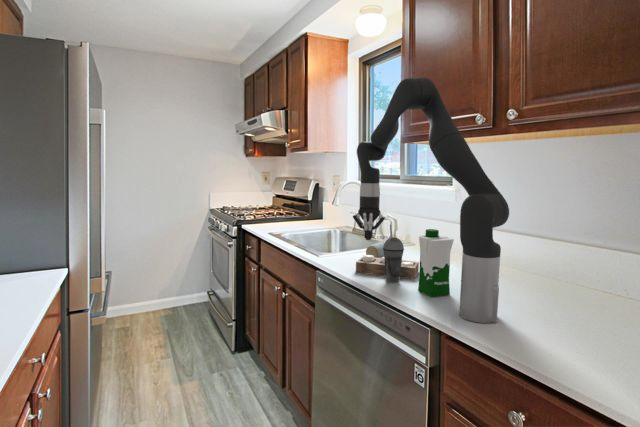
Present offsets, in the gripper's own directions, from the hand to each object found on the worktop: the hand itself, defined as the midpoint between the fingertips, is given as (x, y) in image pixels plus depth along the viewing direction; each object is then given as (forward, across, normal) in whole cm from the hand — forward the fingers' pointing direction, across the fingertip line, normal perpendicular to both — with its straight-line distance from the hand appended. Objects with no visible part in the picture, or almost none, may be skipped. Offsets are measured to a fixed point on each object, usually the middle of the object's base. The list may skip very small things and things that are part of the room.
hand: (368, 239), depth 148 cm
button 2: (+11, +15, 0) cm, 19 cm away
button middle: (+9, +8, 0) cm, 12 cm away
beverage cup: (+12, +12, -11) cm, 20 cm away
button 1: (+10, 0, 0) cm, 10 cm away
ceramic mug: (+12, +1, +16) cm, 20 cm away
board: (+12, +8, 0) cm, 14 cm away
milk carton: (+12, +27, -18) cm, 34 cm away
